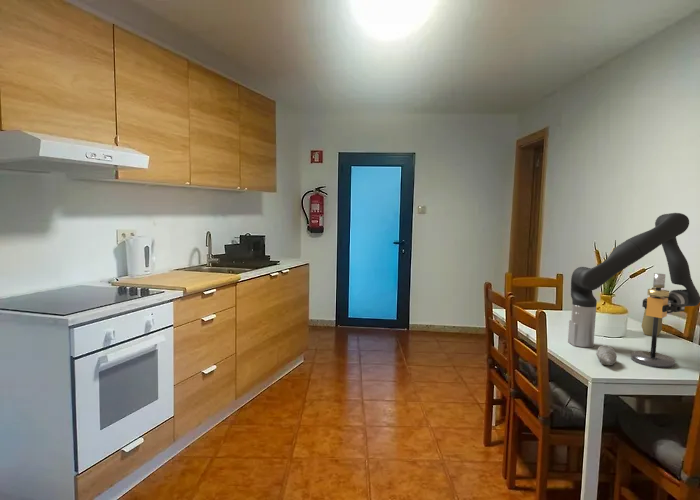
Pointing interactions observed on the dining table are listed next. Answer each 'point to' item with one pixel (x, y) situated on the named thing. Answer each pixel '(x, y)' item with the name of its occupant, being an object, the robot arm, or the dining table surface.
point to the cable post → (655, 333)
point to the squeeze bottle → (650, 325)
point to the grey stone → (606, 355)
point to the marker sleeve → (656, 306)
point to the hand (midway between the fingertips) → (654, 307)
